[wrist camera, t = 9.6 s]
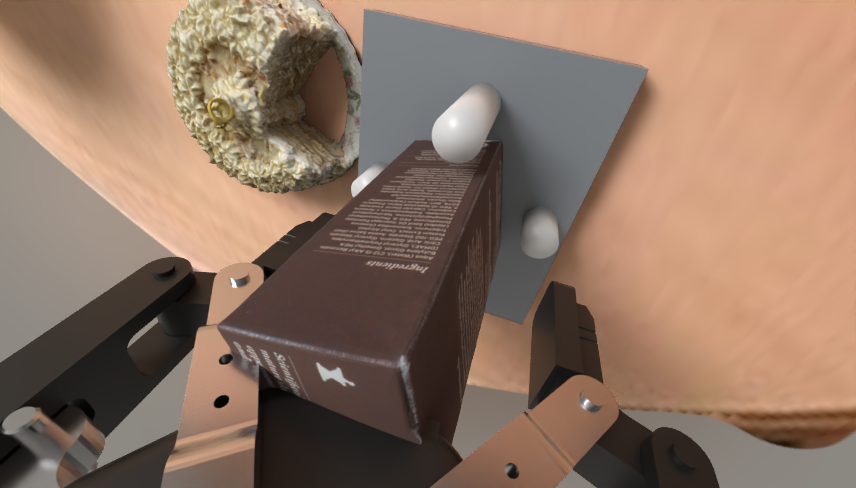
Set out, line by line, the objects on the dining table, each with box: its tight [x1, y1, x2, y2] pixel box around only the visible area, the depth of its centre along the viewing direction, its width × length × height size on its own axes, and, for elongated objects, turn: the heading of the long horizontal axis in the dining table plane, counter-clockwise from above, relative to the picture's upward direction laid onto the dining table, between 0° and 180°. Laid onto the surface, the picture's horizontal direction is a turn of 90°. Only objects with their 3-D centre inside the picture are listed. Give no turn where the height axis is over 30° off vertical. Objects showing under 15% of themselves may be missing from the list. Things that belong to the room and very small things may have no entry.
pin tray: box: [351, 9, 648, 324], centre depth 15 cm, size 11×14×6 cm
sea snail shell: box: [166, 0, 362, 194], centre depth 16 cm, size 10×10×5 cm
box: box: [217, 139, 503, 445], centre depth 12 cm, size 6×4×12 cm
